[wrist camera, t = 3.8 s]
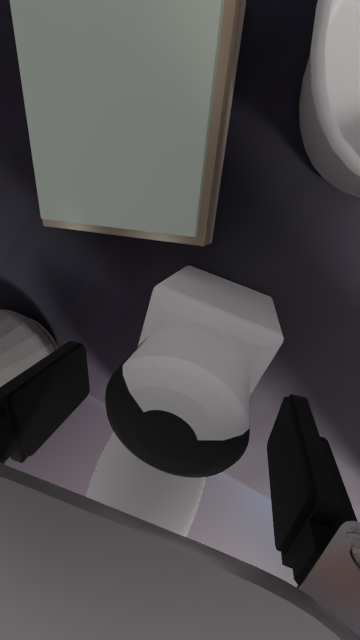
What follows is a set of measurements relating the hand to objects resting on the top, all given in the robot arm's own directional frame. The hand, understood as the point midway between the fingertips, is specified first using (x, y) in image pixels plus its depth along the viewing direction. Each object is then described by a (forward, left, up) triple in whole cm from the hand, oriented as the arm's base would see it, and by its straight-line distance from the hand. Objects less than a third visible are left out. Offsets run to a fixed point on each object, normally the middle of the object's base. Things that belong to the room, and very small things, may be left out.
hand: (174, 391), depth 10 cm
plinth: (+7, -12, -10) cm, 17 cm away
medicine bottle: (0, 0, -10) cm, 10 cm away
